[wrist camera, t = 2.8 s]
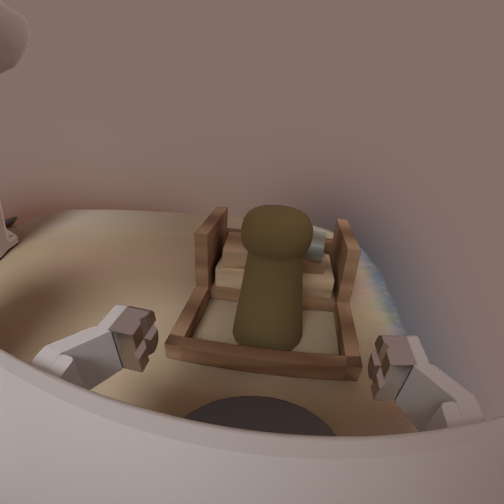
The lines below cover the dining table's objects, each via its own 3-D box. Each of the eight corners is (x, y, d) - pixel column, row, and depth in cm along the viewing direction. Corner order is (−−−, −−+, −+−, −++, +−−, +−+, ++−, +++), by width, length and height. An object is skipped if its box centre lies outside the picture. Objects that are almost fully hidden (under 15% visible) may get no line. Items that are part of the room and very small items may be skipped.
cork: (222, 319, 27) (223, 200, 22) (280, 305, 29) (292, 196, 25) (250, 363, 22) (259, 228, 17) (314, 343, 24) (339, 219, 20)
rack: (356, 380, 20) (384, 307, 17) (166, 357, 22) (155, 281, 19) (335, 269, 37) (345, 216, 34) (219, 257, 38) (219, 203, 35)
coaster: (122, 464, 13) (120, 462, 13) (240, 375, 21) (240, 372, 21) (274, 581, 7) (275, 582, 7) (374, 444, 15) (376, 442, 15)
